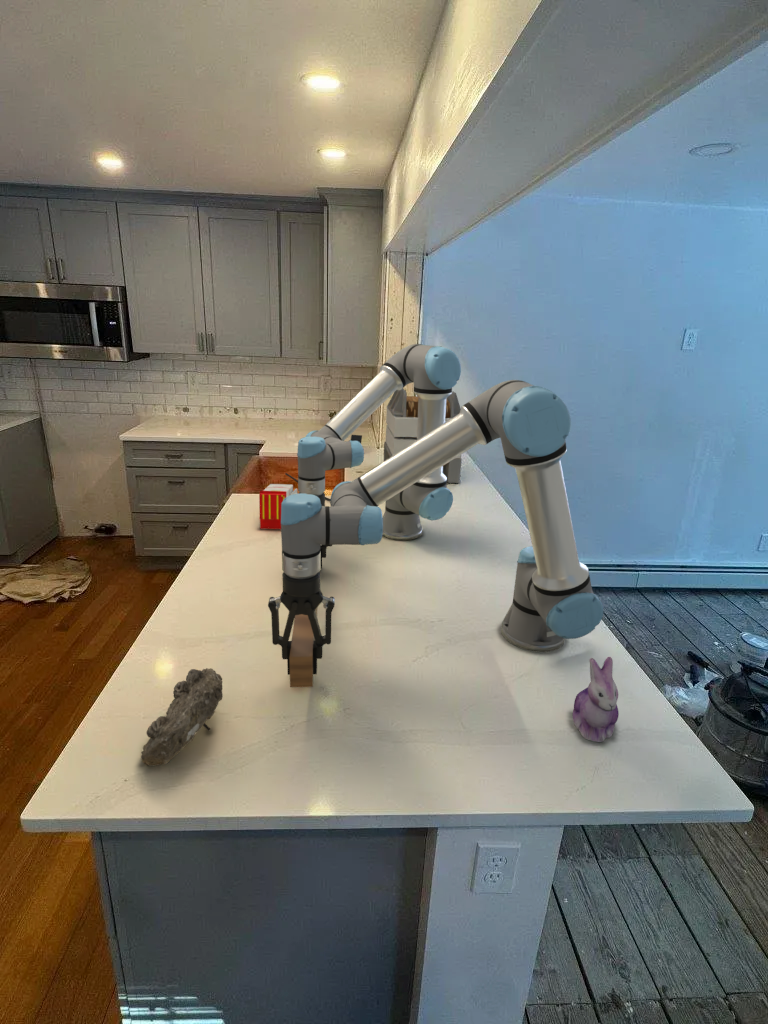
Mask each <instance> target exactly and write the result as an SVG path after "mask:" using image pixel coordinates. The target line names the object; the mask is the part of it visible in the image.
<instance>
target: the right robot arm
mask: <svg viewBox="0 0 768 1024" xmlns="http://www.w3.org/2000/svg"><path fill="white" fill-rule="evenodd" d="M460 408H461V410H460V413H459V414H458V415H456V416H455V417H453V418H452V419H450V420H448V421H447V422H445V423H444V424H442V425H440V426H439V427H437V428H436V429H434V430H433V431H431V432H429V433H428V434H426V435H425V436H423V437H422V438H420V439H418V440H417V441H415V442H414V443H412V444H411V445H409V446H407V447H406V448H404V449H403V450H401V451H400V452H398V453H396V454H395V455H393V456H392V457H390V458H389V459H387V460H385V461H384V460H383V461H382V462H380V463H379V464H377V465H376V466H375V467H373V468H371V469H370V470H368V471H367V472H365V473H363V474H362V475H360V476H358V477H357V478H355V479H353V480H346V481H341V482H339V483H338V484H336V485H335V487H333V489H332V491H331V494H330V499H331V500H330V501H329V504H330V506H328V505H327V506H326V505H325V506H322V505H321V501H320V499H319V498H318V497H317V496H315V495H312V494H305V493H300V494H299V493H297V494H293V495H290V496H287V497H286V498H285V499H284V500H283V502H282V504H281V529H280V536H281V538H280V539H281V567H282V568H281V570H282V578H281V579H282V581H281V582H282V591H281V594H280V595H279V596H277V597H274V596H270V597H269V598H268V603H267V607H268V609H269V611H270V617H271V637H272V638H271V640H272V641H271V642H272V644H273V646H277V645H278V646H280V647H281V658H282V660H286V661H287V662H286V663H287V676H290V659H289V657H290V649H291V642H292V640H290V637H291V632H292V630H293V626H294V619H295V615H300V614H303V615H308V618H309V620H310V624H311V627H312V631H313V634H314V638H315V641H314V642H313V675H317V674H318V660H321V659H322V658H323V647H324V645H330V644H331V643H332V615H333V614H332V613H333V610H334V608H335V605H336V599H335V596H329V597H328V596H326V595H325V596H324V594H323V592H322V589H321V587H322V585H321V582H322V581H321V580H322V579H321V578H322V577H321V575H322V574H321V570H322V569H321V548H320V546H321V545H332V546H340V545H341V546H346V545H347V546H358V545H359V546H365V545H378V544H379V543H381V541H382V539H383V535H382V534H383V511H382V509H381V508H380V505H382V504H384V503H386V501H387V500H388V499H390V498H392V497H393V496H395V495H396V494H398V493H400V492H401V491H403V490H405V489H406V488H408V487H409V486H411V485H413V484H414V483H416V482H417V481H419V480H421V479H422V478H424V477H425V476H427V475H429V474H430V473H432V472H434V471H435V470H437V469H438V468H440V467H442V466H443V465H445V464H446V463H448V462H450V461H451V460H453V459H455V458H456V457H458V456H459V455H461V456H462V455H463V454H464V453H466V452H468V451H469V450H471V449H472V448H474V447H476V446H477V445H481V446H486V445H488V444H489V443H491V442H493V441H495V440H497V439H500V442H501V446H502V450H503V455H504V459H505V463H506V465H508V466H510V467H512V468H513V469H515V473H516V477H517V482H518V487H519V491H520V497H521V500H522V505H523V510H524V514H525V519H526V524H527V528H528V533H529V537H530V541H531V545H529V546H526V547H524V548H522V549H521V550H520V551H519V554H518V558H517V560H516V563H517V564H516V572H515V579H514V586H513V587H514V588H513V595H512V596H513V597H512V603H511V604H510V607H509V609H508V610H507V612H506V613H505V616H504V618H503V620H502V622H501V628H500V629H501V630H500V631H501V632H500V633H501V635H502V636H503V638H504V639H505V640H506V641H507V642H508V643H510V644H511V645H513V646H515V647H517V648H519V649H522V650H525V651H530V652H535V653H550V652H554V651H557V650H560V649H561V648H562V647H563V645H564V644H565V640H566V639H567V640H574V639H581V638H582V637H585V636H587V635H589V634H591V633H592V632H593V631H594V630H595V629H596V627H597V626H599V624H600V623H601V622H602V619H603V616H604V605H603V603H602V601H601V598H600V597H599V596H598V595H597V594H595V593H594V591H593V587H592V581H591V576H590V571H589V568H588V566H587V565H586V564H584V563H583V562H581V561H580V559H579V553H578V548H577V547H578V546H577V542H576V536H575V532H574V526H573V521H572V520H573V519H572V515H571V509H570V505H569V500H568V494H567V488H566V483H565V478H564V472H563V467H562V461H561V459H562V458H563V457H564V456H565V454H566V453H567V451H568V447H567V442H566V439H567V437H568V436H569V435H570V432H571V426H572V425H571V424H572V421H571V419H572V418H571V413H570V411H569V408H568V406H567V404H566V403H565V401H564V400H563V399H562V398H561V397H560V396H558V395H557V394H556V393H555V392H553V391H552V390H551V389H548V388H546V387H543V386H539V385H534V384H531V383H529V382H527V381H525V380H520V379H509V380H504V381H502V382H499V383H497V384H495V385H493V386H491V387H489V388H488V389H487V390H484V391H483V392H481V393H480V394H478V395H477V396H475V397H474V398H472V399H471V400H469V401H468V402H466V403H465V404H463V405H460ZM281 604H282V605H283V606H284V607H285V608H286V609H287V610H288V615H287V619H286V623H285V626H284V630H283V635H280V615H279V613H280V611H279V609H280V608H281ZM321 604H323V605H322V606H323V608H324V609H325V620H324V621H325V622H324V623H325V626H324V628H325V629H324V631H325V633H324V635H322V630H321V628H320V624H319V623H320V622H319V620H318V615H317V616H316V611H315V609H316V608H317V609H318V607H319V606H320V605H321Z"/></svg>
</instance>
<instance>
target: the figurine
mask: <svg viewBox="0 0 768 1024" xmlns="http://www.w3.org/2000/svg"><path fill="white" fill-rule="evenodd" d="M613 663H614V660H613V657H611V656H607V657H606V658H605V659H604V663H603V665H602V667H600V665H599V663H598V662H597V661H596V660H595V659H594V658H593V657H590V658H589V675H590V676H589V677H590V682H589V684H588V686H587V687H586V688H584V689H583V690H580V691H579V692H578V693H577V694H576V696H575V698H574V701H573V710H572V713H571V714H572V722H573V724H574V727H575V728H576V729H577V730H578V731H579V733H580V734H581V736H582V738H584V739H586V740H588V741H592V742H597V743H602V742H604V741H605V739H610V738H611V737H612V735H613V733H614V730H615V726H616V723H617V722H618V720H619V714H620V713H619V707H618V703H617V702H618V700H619V690H618V687H617V684H616V682H615V680H614V678H613V672H614V671H613V670H614V669H613V667H614V664H613Z"/></svg>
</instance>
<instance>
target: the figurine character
mask: <svg viewBox="0 0 768 1024" xmlns="http://www.w3.org/2000/svg"><path fill="white" fill-rule="evenodd" d="M362 439H363V435H361V434H351V435H350V440H351V441H358V442H360V443H361V444H362Z"/></svg>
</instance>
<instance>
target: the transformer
mask: <svg viewBox="0 0 768 1024" xmlns="http://www.w3.org/2000/svg"><path fill="white" fill-rule="evenodd" d="M407 394H408V393H407V390H406V389H404V387H403V388H402V389H401V390H396V391H395V392H394V393H393V394H392V395H391V398H390V400H389V402H388V404H387V405H386V413H385V414H386V415H385V423H386V428H385V438H384V442H383V462H384V461H385V460H387V459H389V458H390V457H392V456H393V455H395V454H396V453H398V452H400V451H401V450H403V449H404V448H406V447H407V446H409V445H411V444H412V443H414V442H415V441H417V426H418V399H419V398H418V396H417V395H416V396H415V395H414V396H413V395H412V396H411V395H407ZM460 410H461V405H460V402H459V398H458V395H457V392H455V391H453V390H452V393H451V394H450V395H449V396H448V397H447V399H446V416H445V422H447V421H448V420H450V419H452V418H453V417H455V416H456V415H458V414H459V413H460ZM462 461H463V460H462V454H461V455H459V456H458V457H456V458H455V459H453V460H451V461H450V462H448V463H446V464H445V465H443V472H442V473H443V474H444V475H445V476H446V477H447V483H449V484H455V483H456V484H459V483H461V472H462Z"/></svg>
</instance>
